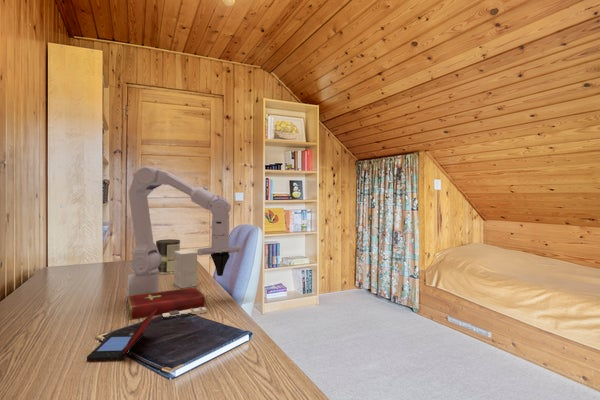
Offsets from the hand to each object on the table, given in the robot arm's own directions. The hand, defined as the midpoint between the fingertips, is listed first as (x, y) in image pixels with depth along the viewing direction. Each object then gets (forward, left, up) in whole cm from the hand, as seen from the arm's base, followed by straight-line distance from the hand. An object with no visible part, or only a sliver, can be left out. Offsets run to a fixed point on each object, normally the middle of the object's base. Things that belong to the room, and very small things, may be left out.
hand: (219, 275), depth 109 cm
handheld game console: (-29, -23, -9) cm, 38 cm away
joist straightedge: (-13, -9, -8) cm, 18 cm away
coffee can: (-8, +51, -8) cm, 52 cm away
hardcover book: (-16, +1, -9) cm, 19 cm away
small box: (-6, +24, -8) cm, 26 cm away
